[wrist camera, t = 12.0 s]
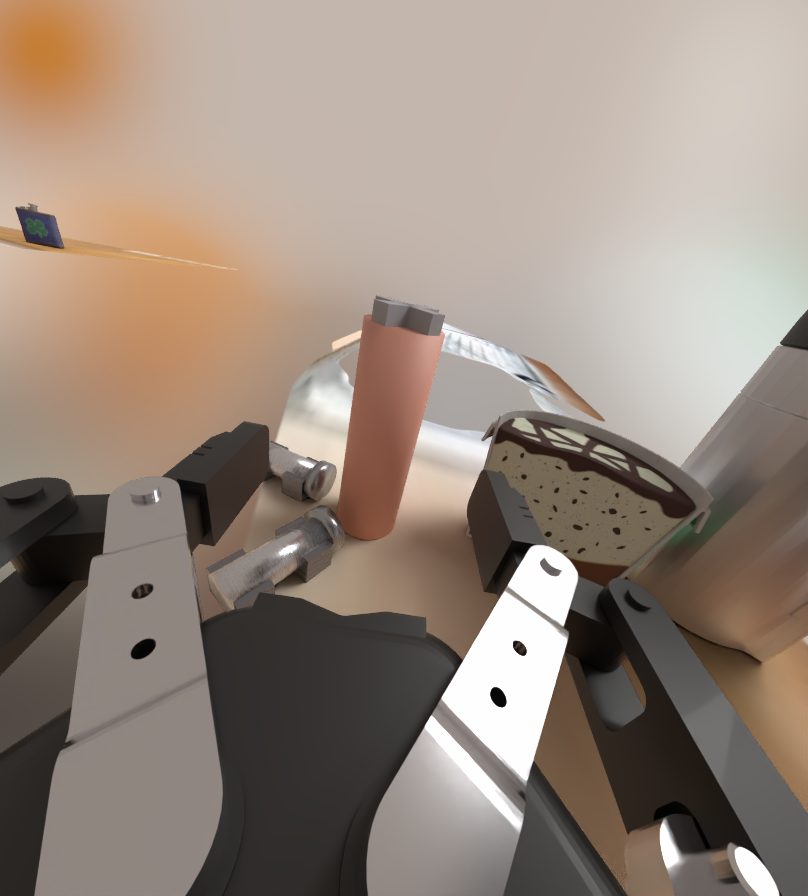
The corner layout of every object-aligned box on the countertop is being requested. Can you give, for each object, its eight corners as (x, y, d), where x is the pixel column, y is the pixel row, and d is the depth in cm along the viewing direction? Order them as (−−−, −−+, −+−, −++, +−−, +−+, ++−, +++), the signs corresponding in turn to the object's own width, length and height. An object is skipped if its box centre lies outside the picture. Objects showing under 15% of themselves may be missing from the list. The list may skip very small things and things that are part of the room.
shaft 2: (312, 530, 21) (315, 497, 20) (342, 556, 20) (347, 523, 18) (208, 592, 16) (201, 554, 14) (238, 634, 15) (234, 596, 13)
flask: (66, 249, 100) (54, 208, 94) (60, 248, 97) (47, 207, 92) (30, 241, 97) (16, 200, 92) (22, 241, 95) (7, 198, 90)
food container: (611, 559, 25) (694, 458, 20) (615, 619, 20) (727, 504, 15) (472, 490, 29) (512, 393, 24) (448, 525, 24) (491, 412, 19)
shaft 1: (334, 487, 25) (338, 458, 24) (312, 508, 23) (314, 476, 21) (270, 458, 27) (270, 429, 25) (242, 474, 24) (240, 442, 23)
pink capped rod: (406, 522, 23) (465, 318, 16) (363, 549, 20) (413, 312, 13) (368, 491, 26) (405, 299, 18) (324, 512, 23) (348, 291, 15)
